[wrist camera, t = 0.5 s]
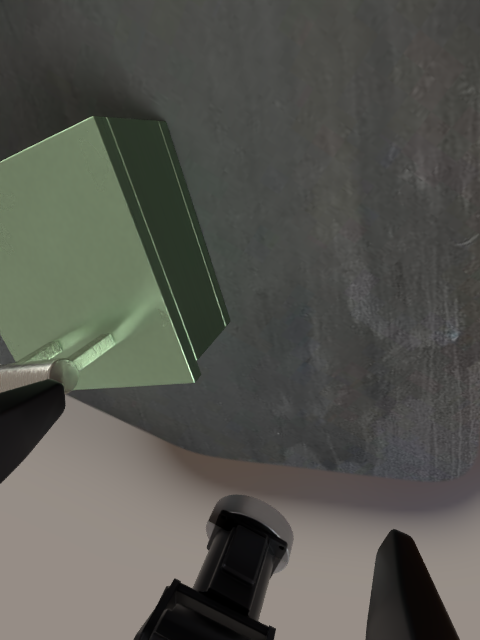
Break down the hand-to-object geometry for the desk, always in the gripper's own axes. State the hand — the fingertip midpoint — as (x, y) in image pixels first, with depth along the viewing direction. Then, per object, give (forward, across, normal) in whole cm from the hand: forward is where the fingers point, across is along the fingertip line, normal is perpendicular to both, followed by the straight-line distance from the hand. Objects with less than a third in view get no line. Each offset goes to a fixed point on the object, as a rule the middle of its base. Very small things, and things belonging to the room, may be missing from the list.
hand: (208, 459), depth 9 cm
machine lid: (+8, +12, +2) cm, 15 cm away
